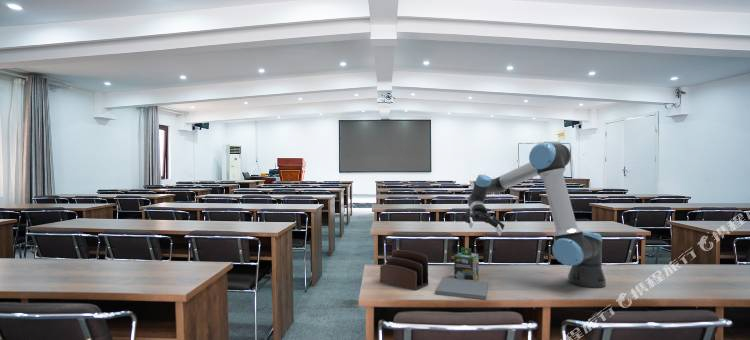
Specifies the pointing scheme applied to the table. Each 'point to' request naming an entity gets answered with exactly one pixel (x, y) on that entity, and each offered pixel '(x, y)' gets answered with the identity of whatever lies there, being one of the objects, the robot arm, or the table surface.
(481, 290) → the mat
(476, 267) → the chalk box
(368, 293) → the table surface
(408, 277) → the letter holder
